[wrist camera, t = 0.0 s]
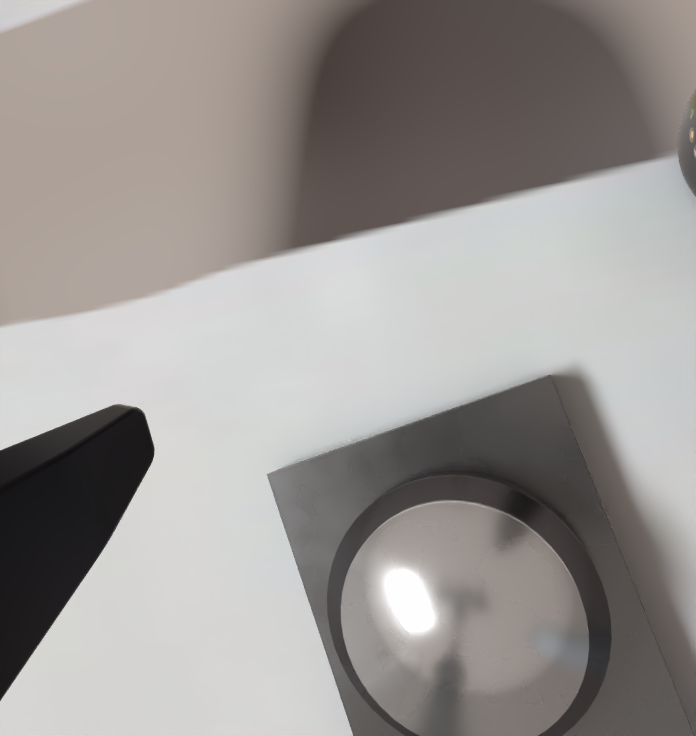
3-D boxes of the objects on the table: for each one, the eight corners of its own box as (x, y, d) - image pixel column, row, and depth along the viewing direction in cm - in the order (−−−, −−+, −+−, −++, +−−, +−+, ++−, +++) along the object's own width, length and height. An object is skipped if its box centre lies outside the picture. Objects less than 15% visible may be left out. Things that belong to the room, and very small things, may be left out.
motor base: (695, 744, 20) (727, 807, 17) (385, 796, 23) (367, 857, 20) (548, 375, 21) (554, 374, 18) (276, 470, 24) (245, 483, 21)
